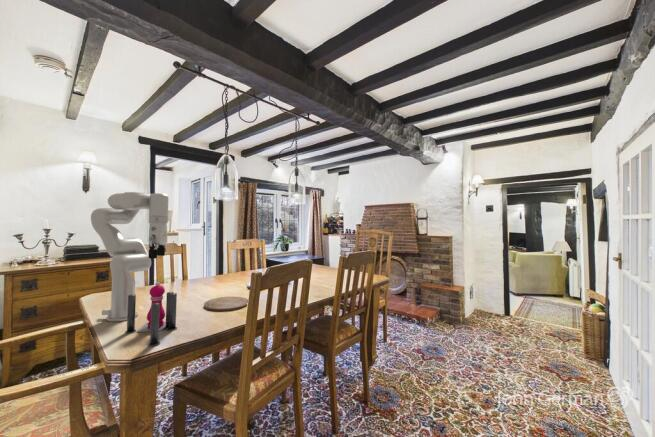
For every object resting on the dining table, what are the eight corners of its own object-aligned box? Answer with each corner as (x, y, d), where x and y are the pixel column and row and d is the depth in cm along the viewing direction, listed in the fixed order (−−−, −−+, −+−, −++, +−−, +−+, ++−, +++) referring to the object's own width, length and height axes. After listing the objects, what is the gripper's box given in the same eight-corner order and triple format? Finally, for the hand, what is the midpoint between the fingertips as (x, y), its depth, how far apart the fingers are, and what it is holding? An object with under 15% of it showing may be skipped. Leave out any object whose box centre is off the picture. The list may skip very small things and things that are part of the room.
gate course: (102, 350, 102) (104, 307, 102) (130, 328, 123) (131, 292, 124) (163, 345, 107) (164, 304, 107) (179, 325, 128) (180, 291, 128)
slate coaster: (136, 332, 119) (136, 331, 119) (146, 324, 128) (146, 323, 128) (162, 330, 121) (162, 329, 121) (169, 322, 131) (169, 321, 131)
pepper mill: (142, 328, 121) (144, 283, 122) (152, 323, 128) (154, 280, 129) (159, 328, 122) (161, 283, 122) (167, 323, 129) (169, 280, 130)
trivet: (234, 313, 147) (234, 310, 147) (194, 309, 152) (194, 306, 152) (255, 301, 171) (255, 298, 171) (220, 298, 176) (220, 295, 176)
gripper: (160, 220, 118) (158, 259, 118) (173, 220, 135) (172, 254, 135) (141, 219, 117) (139, 259, 116) (156, 220, 134) (155, 254, 133)
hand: (156, 256), depth 126 cm, fingers open, 9 cm apart
